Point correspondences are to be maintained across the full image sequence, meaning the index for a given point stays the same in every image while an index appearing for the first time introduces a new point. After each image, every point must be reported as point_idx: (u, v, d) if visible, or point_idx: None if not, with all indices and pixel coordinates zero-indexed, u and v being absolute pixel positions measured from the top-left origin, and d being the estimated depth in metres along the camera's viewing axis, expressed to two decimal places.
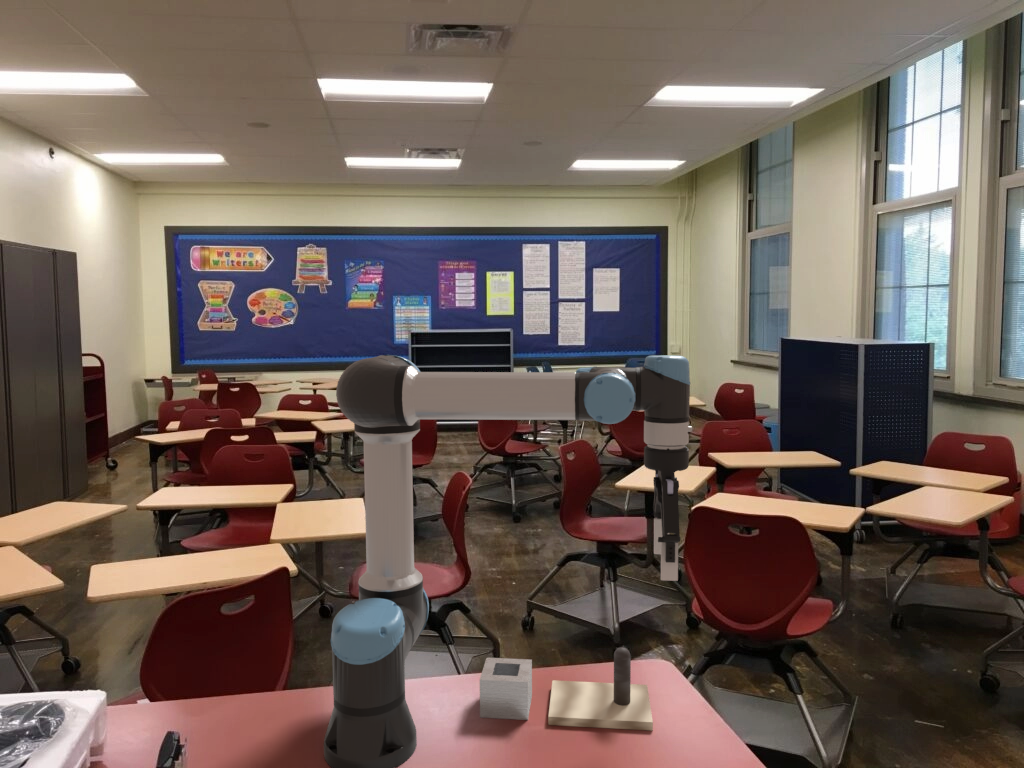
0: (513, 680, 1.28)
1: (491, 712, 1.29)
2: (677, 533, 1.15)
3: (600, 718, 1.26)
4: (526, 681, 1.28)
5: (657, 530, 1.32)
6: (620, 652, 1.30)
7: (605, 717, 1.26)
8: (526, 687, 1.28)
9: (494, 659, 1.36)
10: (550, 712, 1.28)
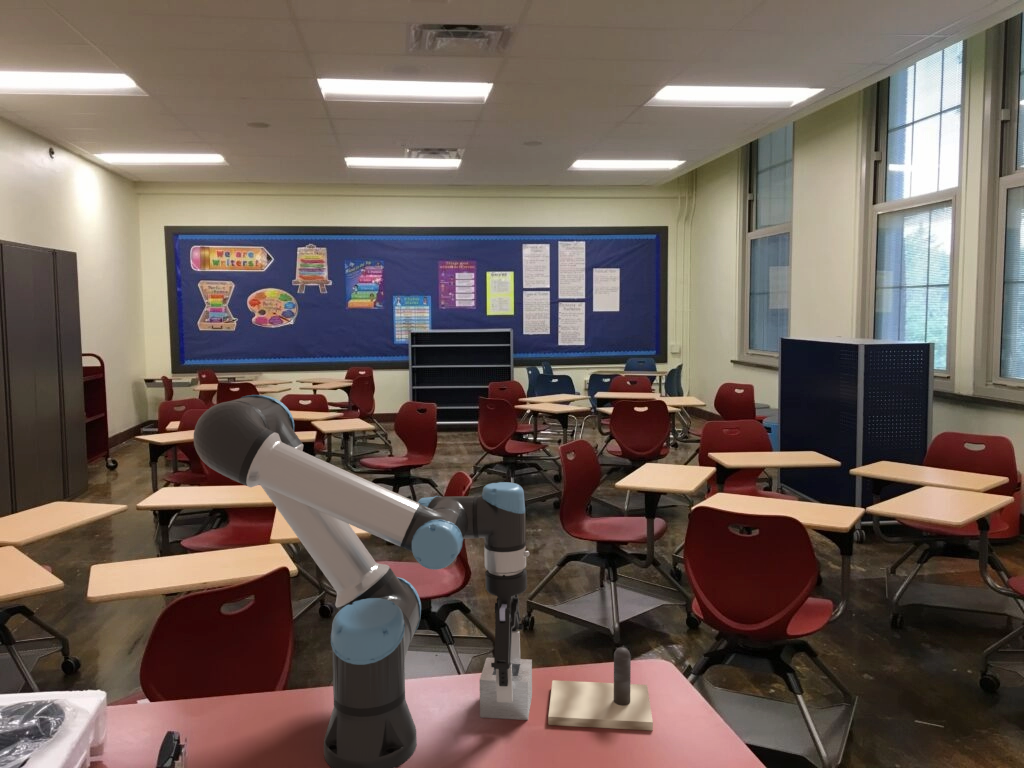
0: (513, 680, 1.28)
1: (491, 712, 1.29)
2: (506, 661, 1.22)
3: (600, 718, 1.26)
4: (526, 681, 1.28)
5: None
6: (620, 652, 1.30)
7: (605, 717, 1.26)
8: (526, 687, 1.28)
9: None
10: (550, 712, 1.28)
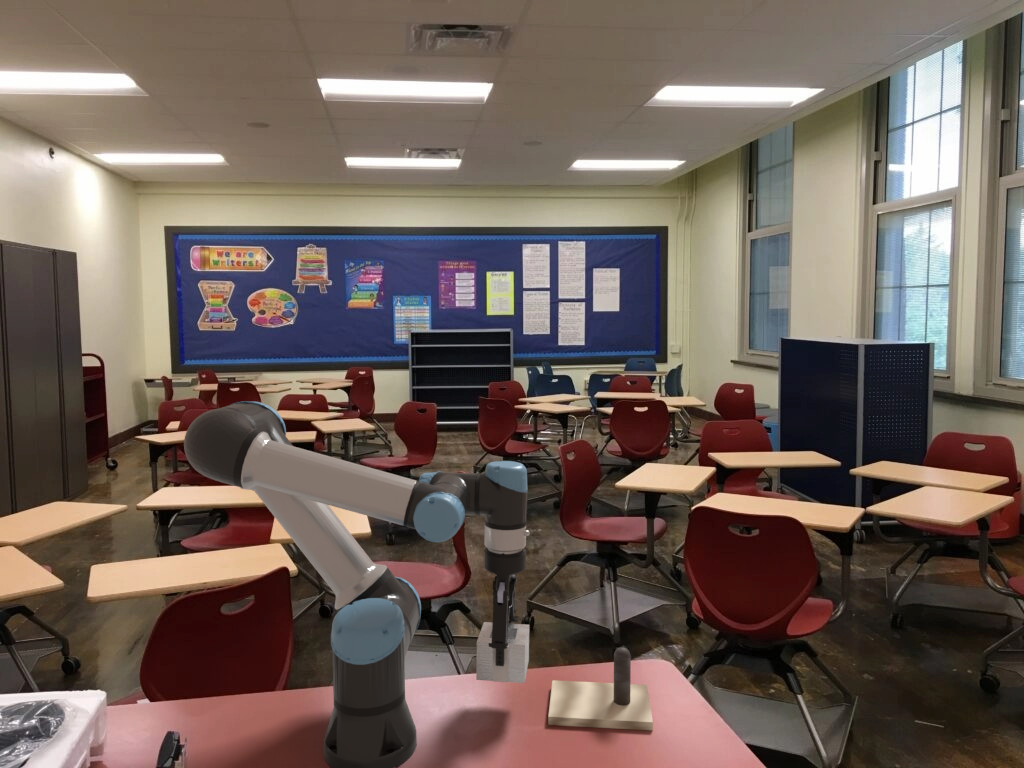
0: (510, 643, 1.28)
1: (487, 675, 1.28)
2: (503, 641, 1.24)
3: (600, 718, 1.26)
4: (523, 644, 1.27)
5: None
6: (620, 652, 1.30)
7: (605, 717, 1.26)
8: (523, 650, 1.27)
9: (491, 623, 1.36)
10: (550, 712, 1.28)
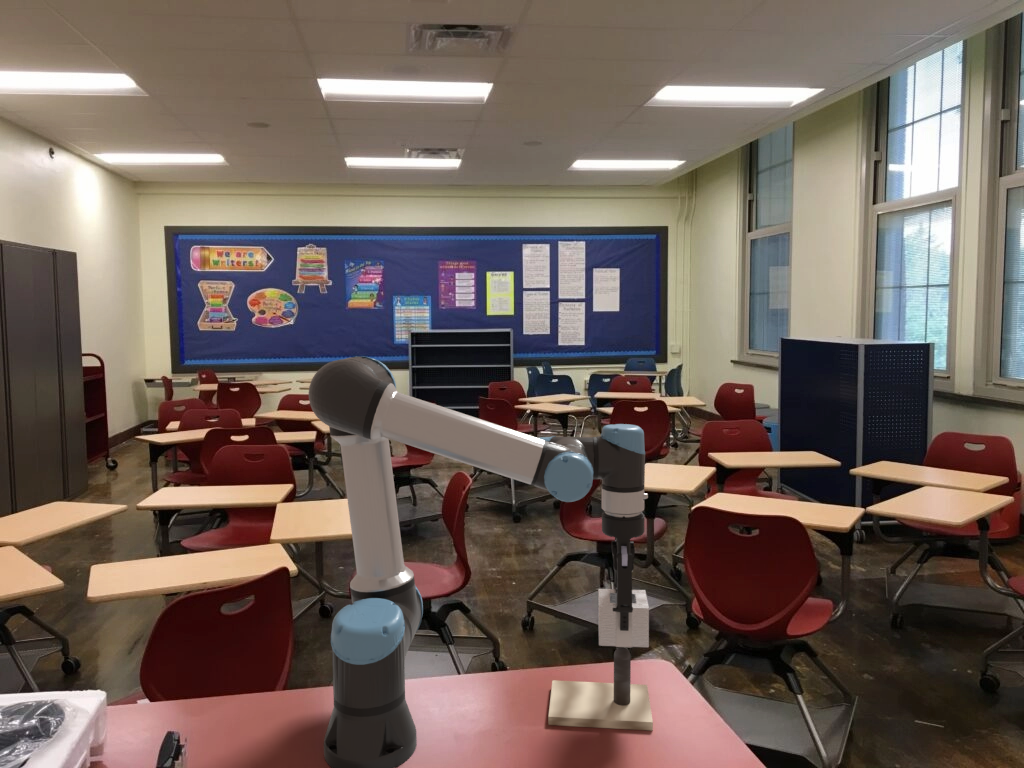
0: (633, 607, 1.26)
1: (610, 640, 1.26)
2: (630, 605, 1.22)
3: (600, 718, 1.26)
4: (647, 607, 1.25)
5: None
6: (620, 652, 1.30)
7: (605, 717, 1.26)
8: (647, 614, 1.25)
9: (607, 590, 1.34)
10: (550, 712, 1.28)
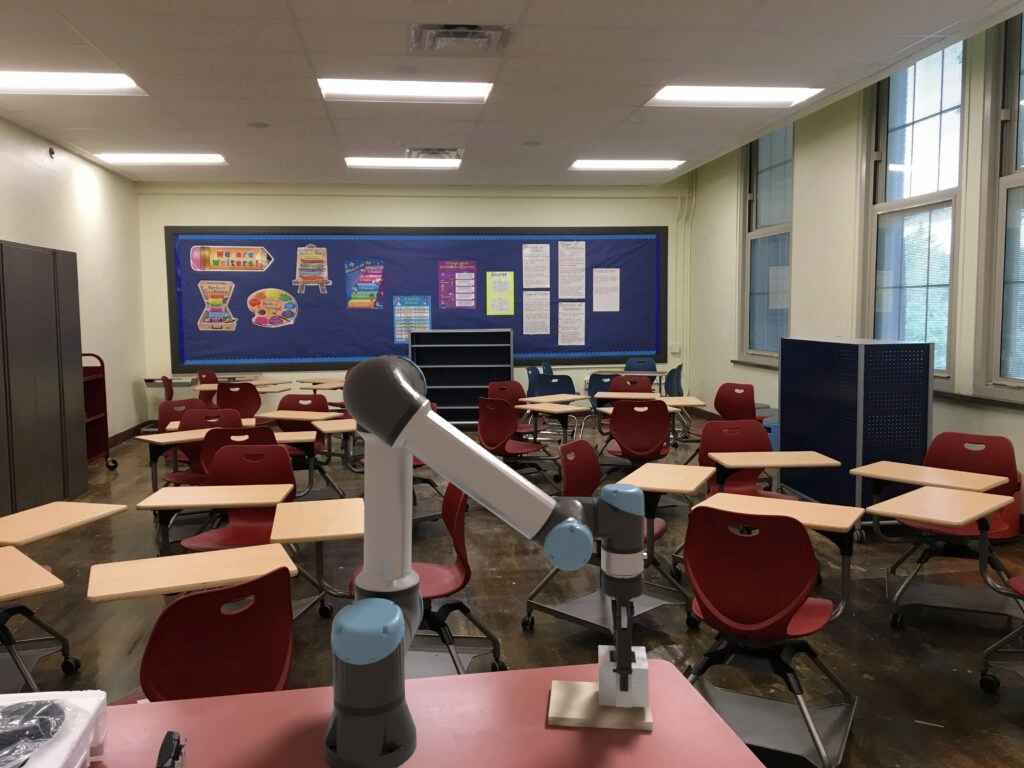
0: (633, 667, 1.26)
1: (610, 700, 1.27)
2: (629, 667, 1.23)
3: (600, 718, 1.26)
4: (646, 668, 1.26)
5: None
6: None
7: (605, 717, 1.26)
8: (646, 674, 1.26)
9: (607, 647, 1.35)
10: (550, 712, 1.28)
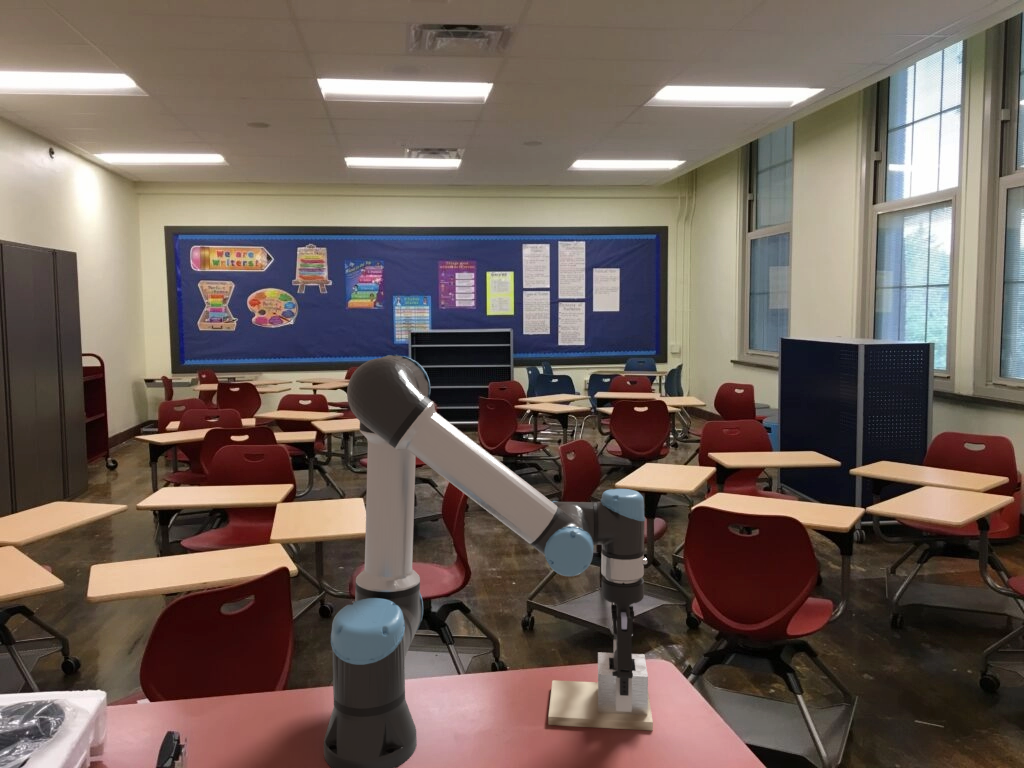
0: None
1: (609, 707, 1.27)
2: (630, 670, 1.21)
3: (600, 718, 1.26)
4: (646, 676, 1.26)
5: None
6: None
7: (605, 717, 1.26)
8: (646, 682, 1.26)
9: (606, 654, 1.35)
10: (550, 712, 1.28)
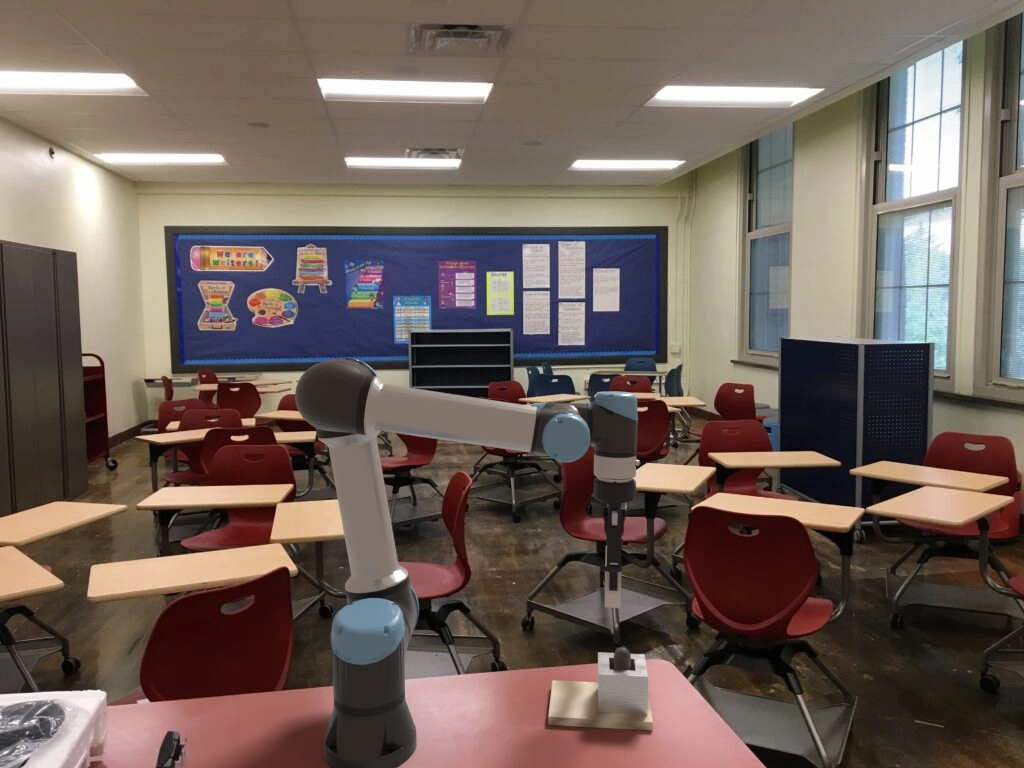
0: (632, 675, 1.27)
1: (609, 707, 1.27)
2: (619, 563, 1.21)
3: (600, 718, 1.26)
4: (646, 676, 1.26)
5: None
6: (620, 652, 1.30)
7: (605, 717, 1.26)
8: (646, 682, 1.26)
9: (606, 654, 1.35)
10: (550, 712, 1.28)
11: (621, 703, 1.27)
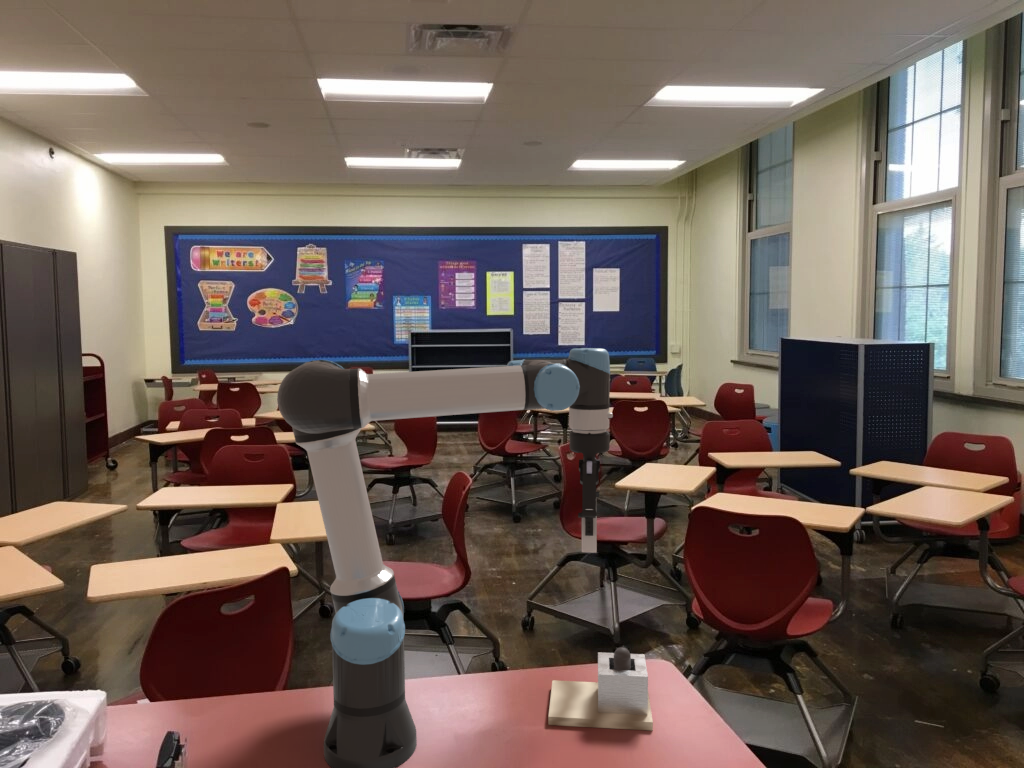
0: (632, 675, 1.27)
1: (609, 707, 1.27)
2: (594, 509, 1.27)
3: (600, 718, 1.26)
4: (646, 676, 1.26)
5: (585, 509, 1.44)
6: (620, 652, 1.30)
7: (605, 717, 1.26)
8: (646, 682, 1.26)
9: (606, 654, 1.35)
10: (550, 712, 1.28)
11: (621, 703, 1.27)
